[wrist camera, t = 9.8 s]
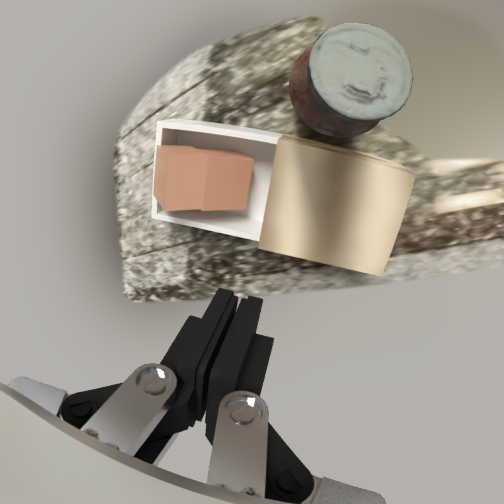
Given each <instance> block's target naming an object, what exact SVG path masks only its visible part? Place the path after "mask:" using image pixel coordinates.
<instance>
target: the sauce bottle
mask: <svg viewBox="0 0 504 504" xmlns="http://www.w3.org/2000/svg"><path fill="white" fill-rule="evenodd" d="M412 82H413V74H412V68H411V65H410V61H409V59H408V57H407V54H406V52H405V51H404V49H403V48H402V47H401V46H400V44H399V42H398V41H397V40H396V39H394V38H393V37H392V36H391V35H390V34H388V33H387V32H385V31H384V30H382V29H380V28H378V27H375V26H373V25H369V24H365V23H359V22H351V23H343V24H339V25H336V26H333V27H331V28H330V29H328V30H326V31H325V32H324V33H323V34H321V35H320V36H319V38H318V39H317V40H316V42H315V43H314V44H313V46H312V47H311V48H309V49H307V50H306V51H305V52H304V53H303V54H302V55H301V56H299V58H298V59H297V60H296V62H295V65H294V66H293V69H292V71H291V75H290V81H289V93H290V99H291V102H292V105H293V107H294V109H295V111H296V113H297V114H298V115H299V117H300V118H301V120H303V121H304V122H305V123H306V124H307V125H308V126H309V127H311V128H312V129H314V130H316V131H317V132H319V133H322V134H325V135H328V136H332V137H338V138H348V137H354V136H358V135H361V134H363V133H366V132H368V131H369V130H371V129H372V128H373V127H375V126H376V125H377V124H378V123H379V121H380V120H383V119H385V118H387V117H390V116H392V115H394V113H396V112H398V111H399V110H400V109H401V108H402V107H403V106H404V105H405V103H406V101H407V100H408V97H409V96H410V92H411V89H412Z"/></svg>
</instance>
